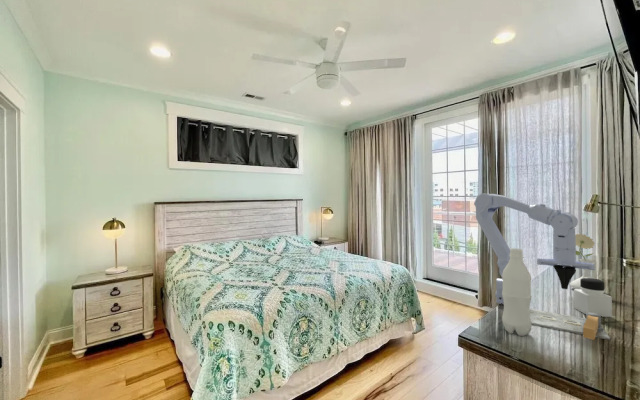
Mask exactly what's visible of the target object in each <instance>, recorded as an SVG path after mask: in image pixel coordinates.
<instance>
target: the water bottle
mask: <svg viewBox="0 0 640 400" xmlns="http://www.w3.org/2000/svg"><path fill="white" fill-rule="evenodd" d="M509 257H510V261H509V263H508V264H507V266H506V267H505V269H504V270H503V273H502V276H503V291H502V296H503V300H504V304H503V312H502V315H501V320H502V324H503V327H504V329H505V330H506V332H507V333H509V334H513V333H514V331H515V333H516V334H517V336H519V337H524V336H526V335H529V334H530V333H531V331H532V324H531V319H530V311H529V309H531V307H530V306H531V301H532V291H531V289H532V287H531V286H532V285H531V284H532V283H531V282H532V276H531V273H530V272H529V271H530V270H529V269H528V267H527V266H526V264H525V262H524V259H525V257H524V254H523V249H521V248H515V247H512V248H510V255H509ZM523 258H524V259H523ZM526 267H527V268H526Z"/></svg>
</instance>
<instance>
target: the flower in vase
mask: <svg viewBox="0 0 640 400" xmlns="http://www.w3.org/2000/svg"><path fill="white" fill-rule="evenodd" d="M575 236H576V247H578V248H579V250H576V256H582V257H583V258H578V260H579V262H584V263H593V264H594V263H595V260H594V259H589V258H586V257H589V256H592V255H593V253H589V254H586V255H583V254H582V251H581V250H582V249H586V250H589V249H594V246H595V241H593V238H591V237H590V236H587V235H586V234H582V233H577V234H575ZM581 248H582V249H581ZM582 270H583V273H582V276H581V277H579V278H576V279H574V280H572V281H570V282H569V285H568V286H570V287H571V288H572V289H573V290H574V289H581V288H580V279H581V278H593V277H592V276H591V275H592V274H591V270H589V269H582ZM605 292H606V289H605V287H604V293H605Z"/></svg>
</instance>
